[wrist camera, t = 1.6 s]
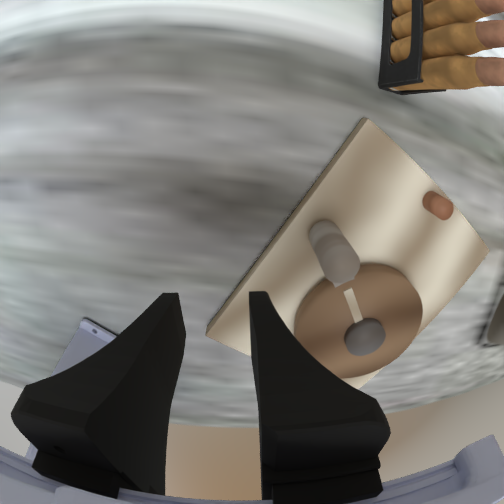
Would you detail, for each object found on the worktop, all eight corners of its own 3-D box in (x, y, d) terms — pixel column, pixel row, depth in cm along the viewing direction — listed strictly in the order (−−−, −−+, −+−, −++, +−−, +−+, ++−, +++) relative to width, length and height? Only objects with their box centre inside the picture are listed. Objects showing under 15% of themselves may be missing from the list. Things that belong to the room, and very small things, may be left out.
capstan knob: (420, 334, 23) (440, 367, 20) (318, 380, 25) (326, 417, 21) (388, 189, 18) (420, 210, 14) (245, 254, 19) (245, 290, 16)
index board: (206, 327, 24) (202, 353, 21) (362, 118, 17) (381, 120, 14) (348, 387, 28) (355, 410, 25) (483, 245, 21) (503, 261, 18)
